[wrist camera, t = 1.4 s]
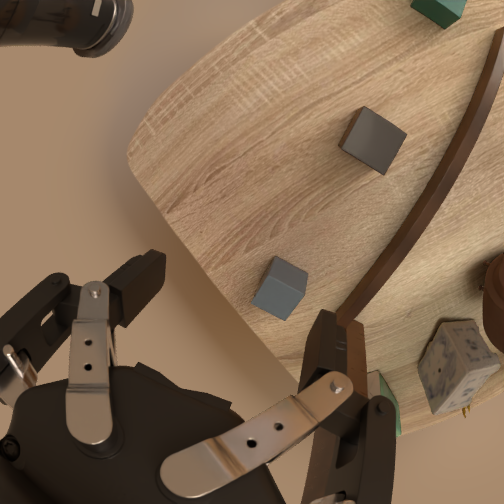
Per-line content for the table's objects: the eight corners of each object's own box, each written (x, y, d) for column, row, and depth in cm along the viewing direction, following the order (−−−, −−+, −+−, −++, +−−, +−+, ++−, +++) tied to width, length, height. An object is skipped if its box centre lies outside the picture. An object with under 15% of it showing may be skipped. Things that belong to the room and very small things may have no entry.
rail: (328, 334, 35) (328, 346, 33) (320, 329, 36) (318, 342, 33) (504, 38, 11) (514, 34, 9) (495, 29, 12) (505, 25, 9)
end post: (341, 346, 36) (322, 528, 13) (324, 338, 36) (295, 525, 13) (363, 324, 33) (360, 523, 11) (345, 315, 33) (331, 522, 11)
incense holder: (454, 363, 33) (468, 413, 24) (414, 363, 34) (423, 417, 25) (481, 318, 28) (505, 368, 19) (439, 315, 30) (460, 371, 21)
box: (364, 416, 42) (364, 448, 36) (337, 382, 40) (335, 419, 33) (399, 405, 39) (402, 437, 33) (379, 368, 36) (382, 406, 30)
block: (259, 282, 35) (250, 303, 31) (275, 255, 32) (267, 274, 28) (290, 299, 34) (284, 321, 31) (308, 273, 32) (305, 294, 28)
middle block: (337, 145, 25) (340, 148, 21) (357, 109, 23) (364, 105, 19) (375, 168, 25) (384, 176, 21) (395, 132, 23) (407, 134, 19)
